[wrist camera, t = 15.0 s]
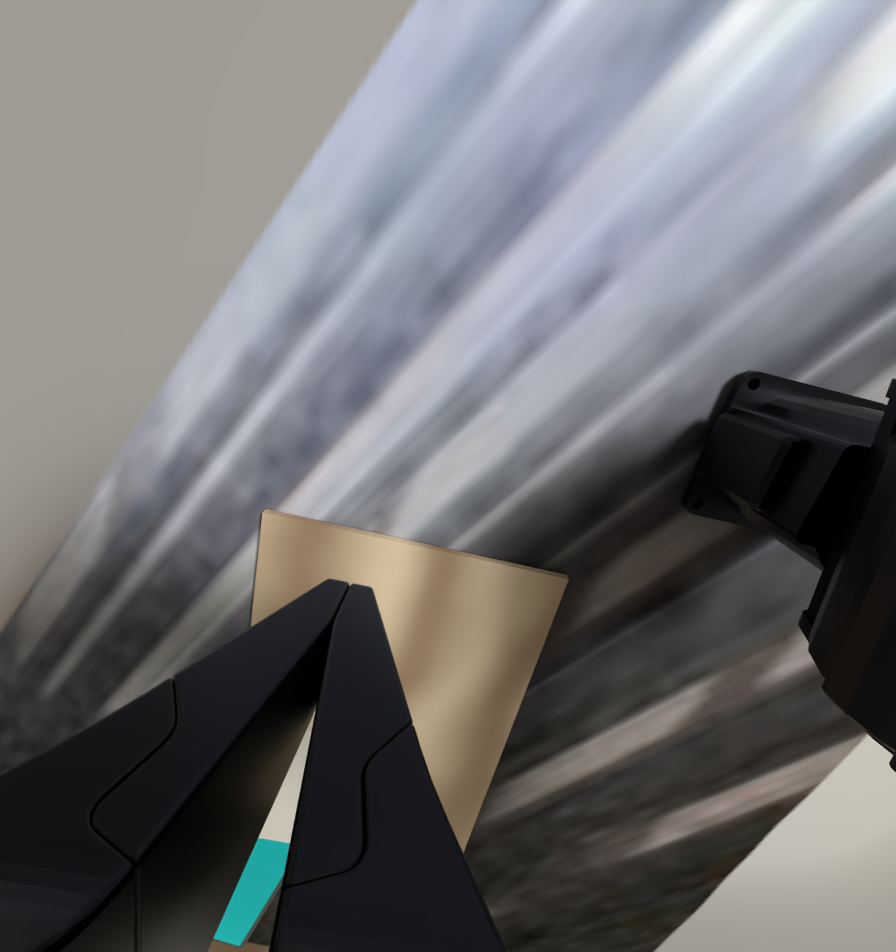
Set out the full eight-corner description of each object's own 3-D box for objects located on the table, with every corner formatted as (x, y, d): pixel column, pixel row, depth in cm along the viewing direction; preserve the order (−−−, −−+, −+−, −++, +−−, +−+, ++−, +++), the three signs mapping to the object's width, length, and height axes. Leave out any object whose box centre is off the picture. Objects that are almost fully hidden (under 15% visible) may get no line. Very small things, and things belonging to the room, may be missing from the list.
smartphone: (315, 830, 28) (242, 949, 32) (319, 816, 29) (247, 934, 33) (204, 791, 27) (144, 920, 31) (211, 778, 28) (152, 905, 32)
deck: (341, 735, 22) (222, 713, 22) (318, 848, 25) (213, 830, 25) (351, 699, 24) (243, 679, 24) (328, 807, 27) (231, 790, 27)
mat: (566, 574, 22) (568, 579, 21) (460, 853, 29) (460, 859, 29) (265, 509, 21) (262, 512, 20) (233, 813, 28) (230, 820, 28)
